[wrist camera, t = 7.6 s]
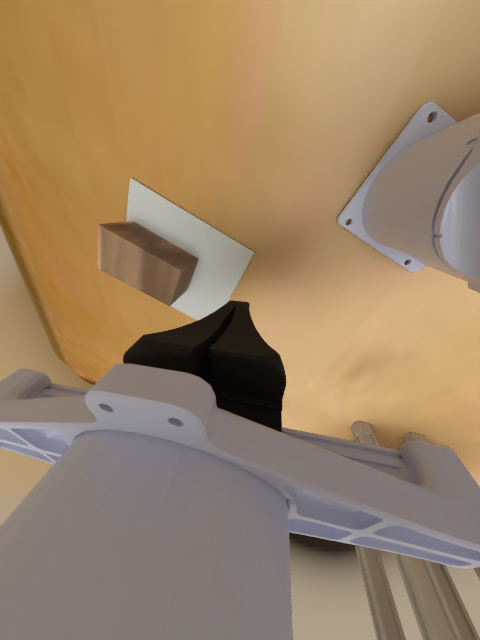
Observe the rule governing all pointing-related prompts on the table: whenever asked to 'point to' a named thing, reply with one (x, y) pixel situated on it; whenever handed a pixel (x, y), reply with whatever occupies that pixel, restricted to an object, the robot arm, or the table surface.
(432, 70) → the table surface
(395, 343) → the table surface
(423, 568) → the stool
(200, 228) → the grey mat
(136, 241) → the walnut block
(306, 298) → the table surface
